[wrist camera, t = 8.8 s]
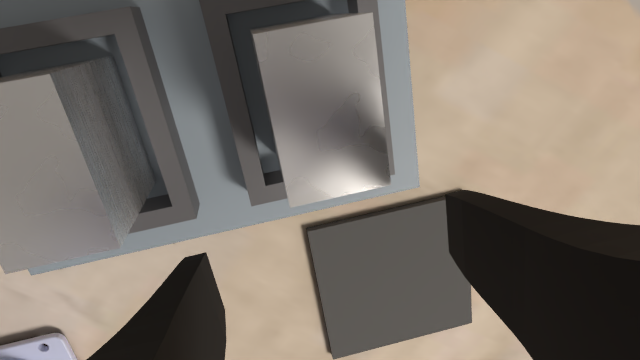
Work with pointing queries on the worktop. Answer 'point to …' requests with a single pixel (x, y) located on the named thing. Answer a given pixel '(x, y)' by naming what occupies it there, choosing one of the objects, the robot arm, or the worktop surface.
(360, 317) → the mat
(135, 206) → the block
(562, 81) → the worktop surface
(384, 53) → the pallet
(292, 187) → the metal billet
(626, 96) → the worktop surface
